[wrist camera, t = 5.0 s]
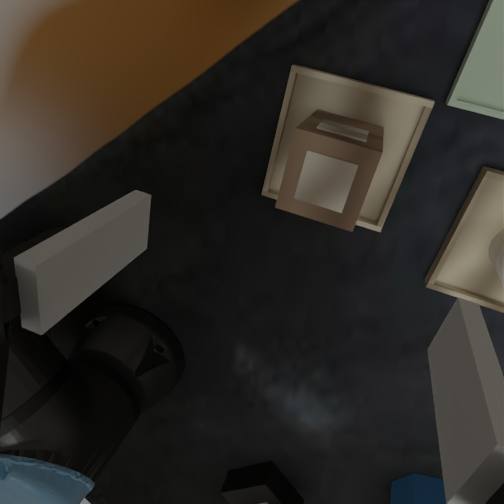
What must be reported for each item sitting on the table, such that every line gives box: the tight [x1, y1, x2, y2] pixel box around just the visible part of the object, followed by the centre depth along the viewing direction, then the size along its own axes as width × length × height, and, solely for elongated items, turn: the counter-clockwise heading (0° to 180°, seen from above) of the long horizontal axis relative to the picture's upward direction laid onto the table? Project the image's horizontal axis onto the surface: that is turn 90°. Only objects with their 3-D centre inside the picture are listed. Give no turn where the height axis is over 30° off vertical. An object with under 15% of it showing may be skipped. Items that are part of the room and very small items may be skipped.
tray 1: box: [261, 64, 435, 232], centre depth 36 cm, size 12×12×2 cm
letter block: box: [275, 109, 384, 232], centre depth 32 cm, size 6×6×10 cm
